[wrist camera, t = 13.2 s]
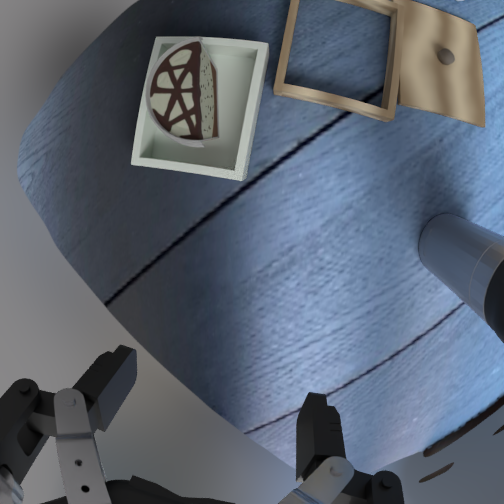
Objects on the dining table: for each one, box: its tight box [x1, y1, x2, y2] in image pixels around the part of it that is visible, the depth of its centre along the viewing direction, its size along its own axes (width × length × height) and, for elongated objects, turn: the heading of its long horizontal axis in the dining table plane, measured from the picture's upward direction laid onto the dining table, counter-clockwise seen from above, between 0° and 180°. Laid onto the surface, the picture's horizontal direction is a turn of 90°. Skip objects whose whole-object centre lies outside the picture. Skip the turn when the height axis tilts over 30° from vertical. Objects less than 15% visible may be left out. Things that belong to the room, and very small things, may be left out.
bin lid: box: [391, 0, 485, 127], centre depth 29 cm, size 15×18×2 cm
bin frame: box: [273, 0, 404, 122], centre depth 30 cm, size 15×18×3 cm
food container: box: [145, 36, 219, 147], centre depth 31 cm, size 12×6×10 cm, turn 2°
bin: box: [131, 37, 270, 181], centre depth 34 cm, size 14×17×5 cm
